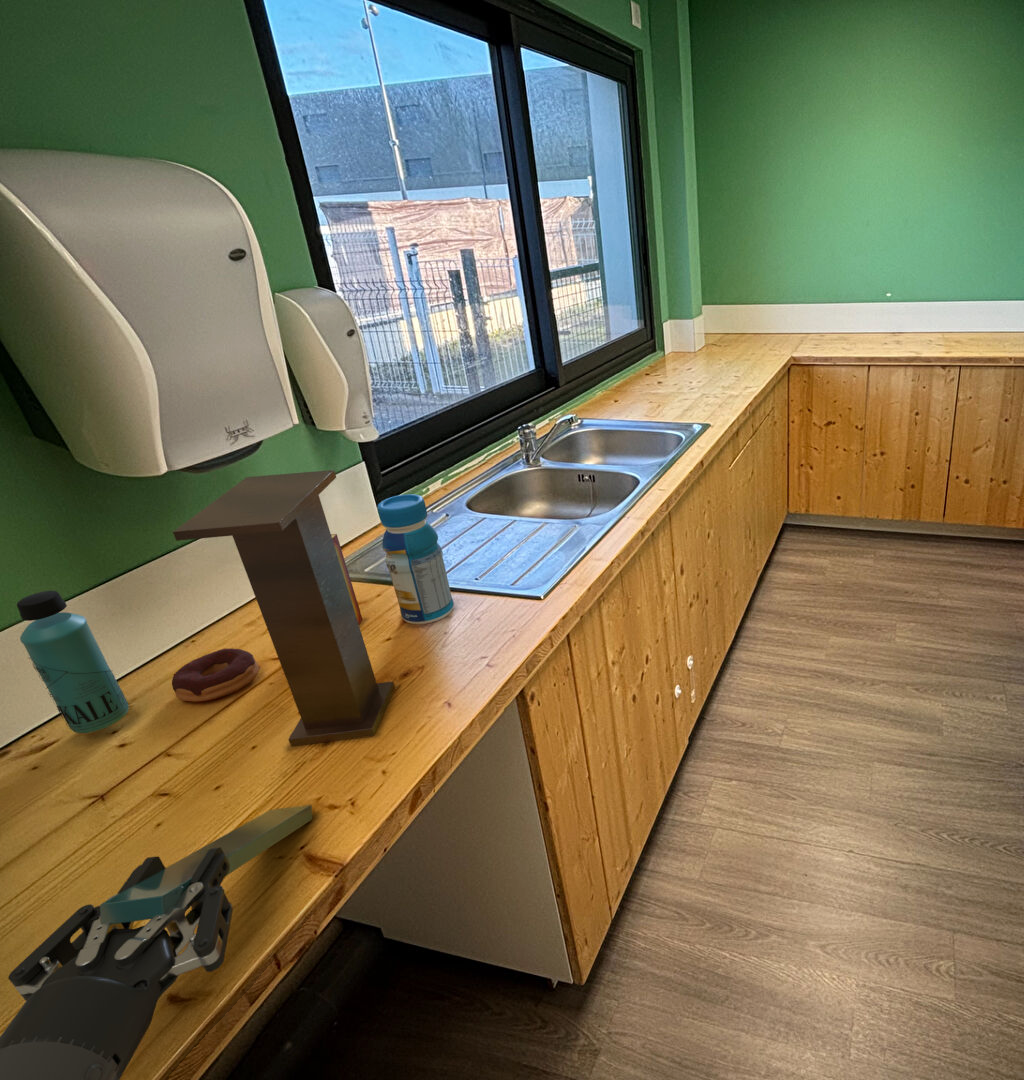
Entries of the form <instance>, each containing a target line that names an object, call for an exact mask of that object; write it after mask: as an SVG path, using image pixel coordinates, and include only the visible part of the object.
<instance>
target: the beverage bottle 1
mask: <svg viewBox="0 0 1024 1080" xmlns="http://www.w3.org/2000/svg"><path fill="white" fill-rule="evenodd" d="M16 607H17V610H18V612H19V616H20V617H21V619H22V620H23V621H24V622H25V621H26V622H29V621H32V622H30V623H29V624H28V625H27V626H26V627H25V629H24V630H23V631H22V633H21V635H20V637H19V640H20V642H21V644H22V645H23V646H24V648H25V649H26V652H27V653H28V657H29V660H31V662H32V664H33V665H32V667H33V669H34V670H35V672H37V676H39V679H40V680H41V681H42V683H43V684H45V685H44V686H46V687H45V690H48V692H47V694H48V695H49V697H50V698H51V701H53V703H54V705H55V707H56V710H57V711H58V713H59V715H60V716H61V719H63V720H64V722H65V726H66V727H67V728H68V729H69V730H70V731H72V732H73V733H76V734H91V733H93V732H97V731H101V730H103V729H106V728H108V727H110V726H113V725H114V724H116V723H118V722H119V721H120V720H122V719H123V718H124V717H126V716H127V714H128V712H129V710H130V704H129V699H128V698H127V697H126V696H125V693H124V691H123V689H122V688H121V687H120V686H121V685H119V683H118V680H117V679H116V677H115V674H114V673H113V670H111V668H110V666H109V664H108V662H107V660H106V658H105V656H104V654H103V652H102V650H101V648H100V646H99V644H98V642H97V640H96V638H95V636H94V634H93V632H92V629H91V628H90V626H89V624H88V620H87V618H86V616H83V615H80V614H77V613H73V612H66V611H65V612H64V610H65V609H66V608H67V602H66V601H65V600H64V599H63V597H62V596H61V594H60V593H59V592H58V591H57V590H45V591H41V592H39V591H38V592H35V593H33V594H32V593H31V594H30V595H27V596H25V597H23V598H21V599H20V600H18V601H17V603H16Z"/></svg>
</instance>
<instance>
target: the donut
mask: <svg viewBox="0 0 1024 1080" xmlns="http://www.w3.org/2000/svg"><path fill="white" fill-rule="evenodd" d="M259 671H260V666H259V663H258V662H257V661H256V659H255V657H254V655H253V653H251V652H249V651H247V650H244V649H242V648H241V649H240V648H222V649H218V650H215V651H213V652H210V653H207V654H204V655H202V656H200V657H198V658H195V659H193V660H191V661H189V662H188V663H185V664H184V665H183V666H182V667H180V668H179V669H178V670H177V671H176V672H175V673H173V676H172V679H171V686H172V690H173V692H174V694H175V697H176V698H177V699H179V700H181V701H185V702H193V703H194V702H197V703H198V702H208V701H212V700H215V699H219V698H221V697H225V696H228V695H230V694H232V693H235V692H236V691H238V690H241V689H242V688H244V687H245V686H246V685H248V684H250V683H251V682H252V681H253V680H254V679H255V678H256V677H257V676H258V674H259Z"/></svg>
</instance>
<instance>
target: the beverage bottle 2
mask: <svg viewBox="0 0 1024 1080" xmlns="http://www.w3.org/2000/svg"><path fill="white" fill-rule="evenodd" d="M377 513H378V517H379V521H380V524H381V525H382V526H383V528H385V531H384V533H383V537H382V543H381V546H382V550H383V551H384V552H385V554H386V555H385V560H384V561H385V565H386V567H387V570H388V572H389V575H390V578H391V582H392V585H393V586H392V587H393V589H394V592H395V595H396V599H397V603H398V606H399V607H398V608H399V612H400V616H401V618H402V620H403V621H404V622H406V623H408V624H411V625H427V624H431V623H434V622H438V621H440V620H442V619H444V618H446V617H448V615H449V614H451V613H452V611H453V610H454V607H455V603H454V600H453V596H452V592H451V588H450V584H449V583H450V582H449V579H448V575H447V570H446V566H445V562H444V554H443V548H442V547H441V545H440V544H439V543H438V540H439V535H438V532H437V531H436V530H435V528H434V527H433V526H432V525H431V523H429V522H428V521H426V520H427V519H428V510H427V506H426V502H425V500H424V497H423V496H421V495H419V494H414V493H408V494H399V495H393V496H391V497H387V498H385V499H383V500H381V502H379V503H378V504H377Z"/></svg>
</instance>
